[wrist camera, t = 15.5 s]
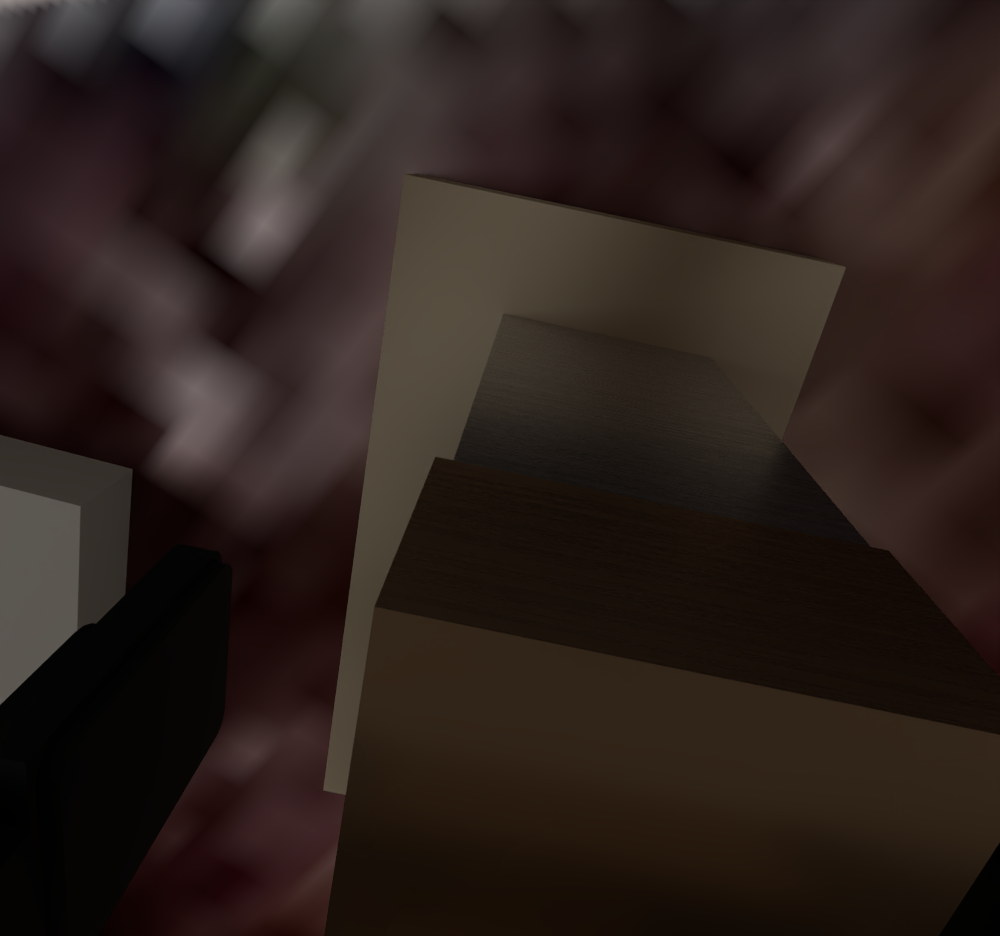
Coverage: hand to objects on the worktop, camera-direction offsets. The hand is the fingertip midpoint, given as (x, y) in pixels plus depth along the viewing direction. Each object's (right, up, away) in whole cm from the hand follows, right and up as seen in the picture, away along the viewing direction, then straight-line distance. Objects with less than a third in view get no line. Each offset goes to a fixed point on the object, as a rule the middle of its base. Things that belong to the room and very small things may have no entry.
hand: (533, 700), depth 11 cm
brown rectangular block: (0, +1, +3) cm, 4 cm away
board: (0, +2, +4) cm, 5 cm away
